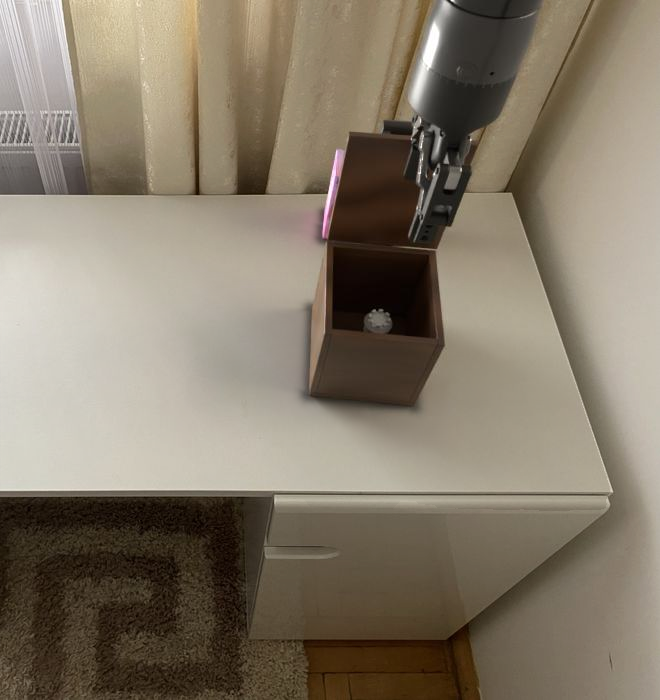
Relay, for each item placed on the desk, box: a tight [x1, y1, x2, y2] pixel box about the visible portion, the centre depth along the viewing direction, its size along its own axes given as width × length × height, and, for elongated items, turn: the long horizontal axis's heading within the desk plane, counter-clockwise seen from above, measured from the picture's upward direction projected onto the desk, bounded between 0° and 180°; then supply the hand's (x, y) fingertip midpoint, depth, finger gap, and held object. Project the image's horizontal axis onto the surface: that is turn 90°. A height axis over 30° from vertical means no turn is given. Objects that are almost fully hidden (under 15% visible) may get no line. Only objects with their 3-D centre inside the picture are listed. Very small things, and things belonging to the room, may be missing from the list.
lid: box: [326, 119, 479, 250], centre depth 75 cm, size 14×13×5 cm
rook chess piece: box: [363, 309, 392, 334], centre depth 82 cm, size 4×4×8 cm
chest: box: [308, 240, 446, 407], centre depth 82 cm, size 14×13×13 cm
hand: (416, 208), depth 66 cm, fingers open, 8 cm apart
